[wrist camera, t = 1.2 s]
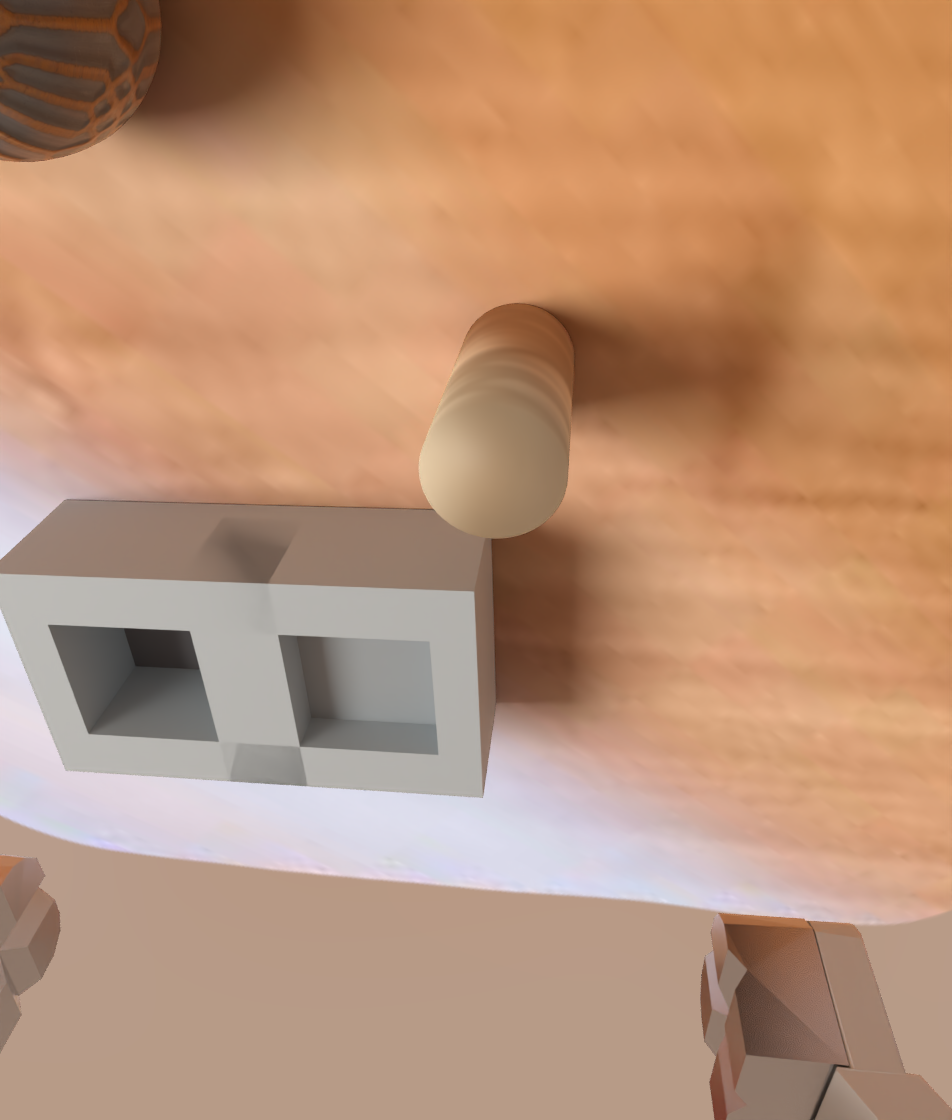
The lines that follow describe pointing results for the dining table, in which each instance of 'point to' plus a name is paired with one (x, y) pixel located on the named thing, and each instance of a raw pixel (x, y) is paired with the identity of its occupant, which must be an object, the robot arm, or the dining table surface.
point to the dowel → (503, 426)
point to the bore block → (259, 643)
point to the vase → (72, 72)
